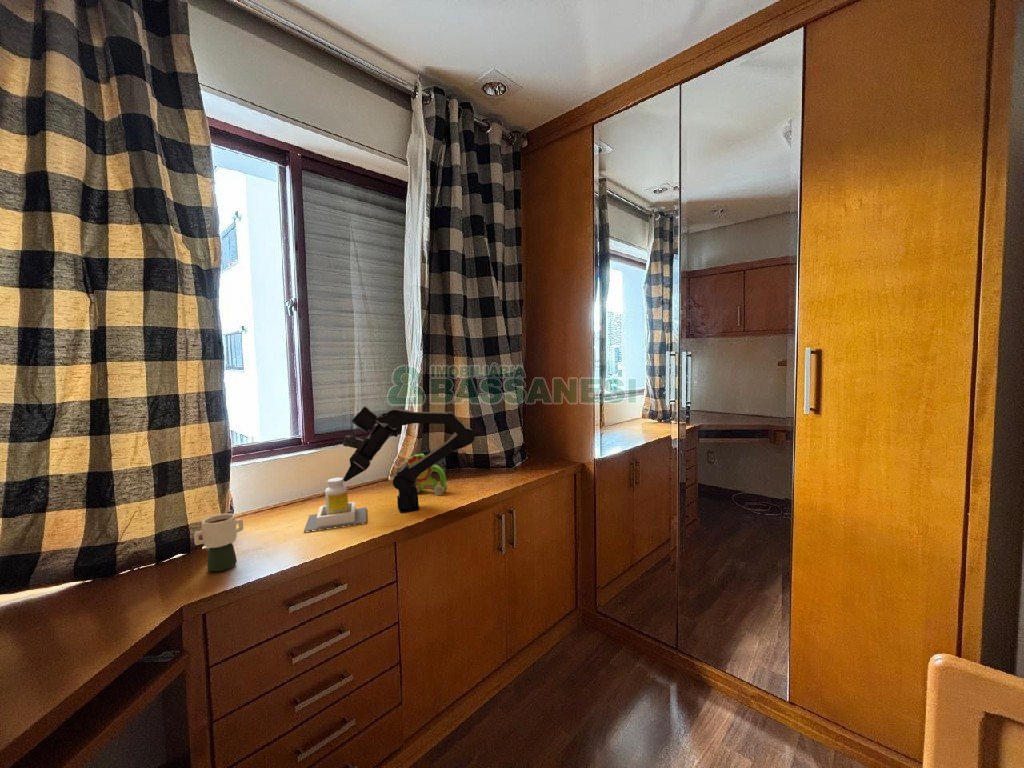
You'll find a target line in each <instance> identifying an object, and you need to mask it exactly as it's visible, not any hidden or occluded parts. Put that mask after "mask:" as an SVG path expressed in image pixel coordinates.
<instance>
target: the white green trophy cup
mask: <svg viewBox="0 0 1024 768" xmlns="http://www.w3.org/2000/svg"><path fill="white" fill-rule="evenodd" d="M237 525H238V528H237ZM242 531H244V521H243V519H242V518H239V519H236V515H235V514H234V513H221V514H214V515H212V516H209V517H207V518H205V519H203V520H202V521H201V530H199V531H196V532H194V534H193V539H194V545H195V546H199V545H202V544H203V546H205V547H206V548H207V549H208V554H207V564H206V565H207V571H211V572H220V571H221V572H222V571H225V570H228V569H231V568H233V567H234V566H235V565H236V564H237V562H238V560H237V555H236V551H235V548H234V544H233V542H235V541H236V539H237V537H238V536H237V535H238V533H240V532H242ZM200 535H202V539H200V537H199V536H200Z"/></svg>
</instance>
